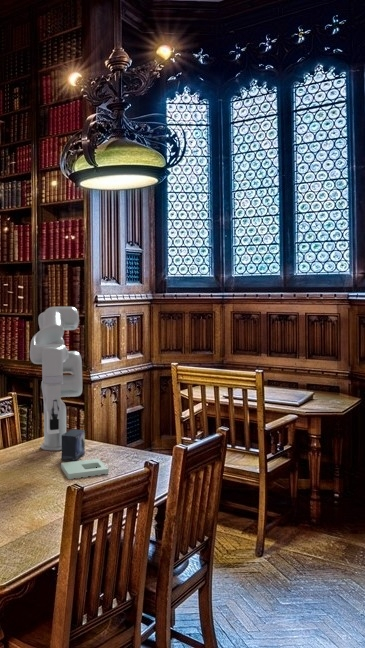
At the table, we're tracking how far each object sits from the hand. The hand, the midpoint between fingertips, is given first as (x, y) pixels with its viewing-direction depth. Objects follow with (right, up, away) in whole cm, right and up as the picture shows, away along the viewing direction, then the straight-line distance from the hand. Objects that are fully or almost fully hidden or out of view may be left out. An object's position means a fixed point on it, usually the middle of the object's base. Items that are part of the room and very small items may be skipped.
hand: (53, 427), depth 209 cm
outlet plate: (+11, -17, +3) cm, 21 cm away
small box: (+4, -16, +20) cm, 26 cm away
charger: (0, -2, 0) cm, 2 cm away
